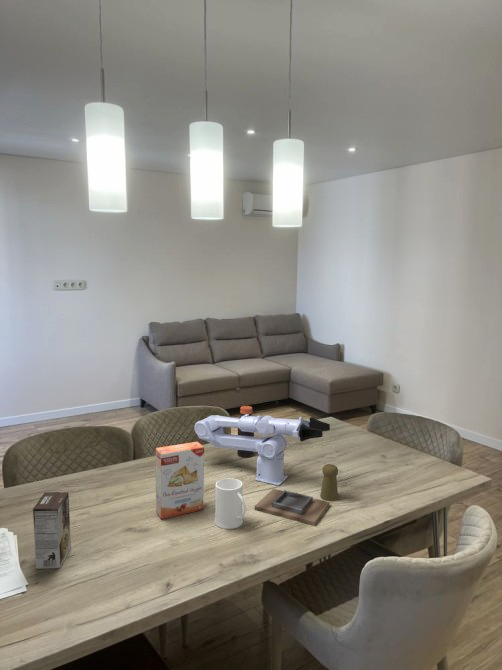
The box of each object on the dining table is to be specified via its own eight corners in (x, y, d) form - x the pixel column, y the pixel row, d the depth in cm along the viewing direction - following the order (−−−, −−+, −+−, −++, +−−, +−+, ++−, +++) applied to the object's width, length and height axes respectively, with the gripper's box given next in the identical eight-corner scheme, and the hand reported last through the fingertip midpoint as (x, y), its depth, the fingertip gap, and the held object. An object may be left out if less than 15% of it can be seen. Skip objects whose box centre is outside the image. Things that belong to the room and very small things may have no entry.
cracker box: (161, 520, 142) (160, 453, 140) (155, 511, 148) (154, 447, 145) (204, 510, 149) (204, 446, 146) (197, 502, 154) (197, 440, 152)
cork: (338, 502, 156) (339, 470, 154) (319, 500, 157) (320, 468, 155) (338, 493, 162) (339, 462, 160) (320, 491, 163) (321, 461, 161)
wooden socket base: (254, 509, 150) (254, 501, 149) (273, 491, 162) (273, 484, 162) (314, 525, 141) (314, 517, 140) (329, 505, 153) (329, 497, 153)
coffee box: (47, 548, 127) (44, 491, 125) (71, 547, 128) (69, 490, 126) (34, 569, 118) (31, 508, 116) (61, 568, 119) (58, 507, 117)
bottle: (253, 458, 192) (254, 410, 189) (237, 457, 192) (237, 409, 189) (253, 451, 198) (254, 405, 196) (237, 451, 199) (238, 405, 196)
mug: (254, 528, 139) (255, 489, 137) (230, 537, 134) (230, 497, 132) (232, 511, 148) (233, 475, 147) (209, 519, 143) (209, 481, 142)
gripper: (279, 421, 160) (318, 424, 154) (296, 411, 173) (332, 413, 166) (281, 442, 161) (319, 445, 154) (297, 429, 173) (332, 432, 167)
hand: (325, 430), depth 160 cm, fingers open, 7 cm apart
